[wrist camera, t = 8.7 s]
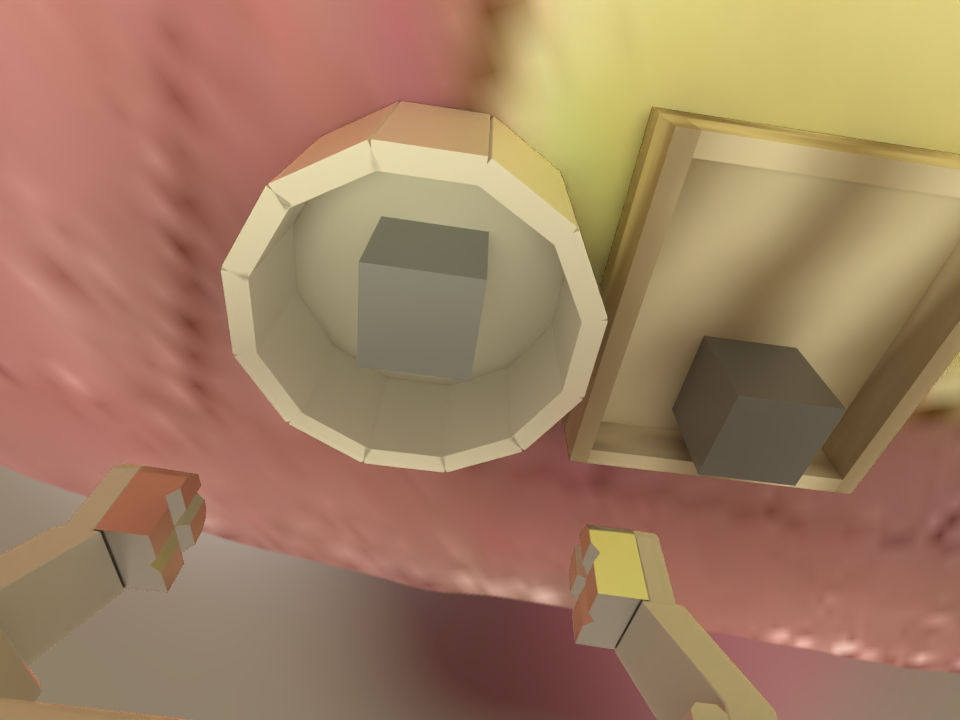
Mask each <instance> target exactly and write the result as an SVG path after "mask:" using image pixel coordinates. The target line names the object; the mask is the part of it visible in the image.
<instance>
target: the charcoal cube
mask: <svg viewBox="0 0 960 720" xmlns="http://www.w3.org/2000/svg"><path fill="white" fill-rule="evenodd" d="M672 411H673V413H674V416H675V418H676V421H677V423H678V426H679V428H680V431H681V433H682V436H683V438H684V441H685V443H686V446H687V448H688V451H689V453H690V456H691V458H692V461H693V463H694V466H695V468H696V470H697V473H698V474H699V475H707V476H716V477H724V478H733V479H741V480H750V481H758V482H767V483H775V484H784V485H792V486H796V484H797V483H798V481H799V480H800V478H801V477H802V475H803V474H804V472H805V471H806V469H807V468H808V466H809V465H810V463H811V462H812V460H813V459H814V457H815V456H816V454H817V453H818V451H819V450H820V448H821V447H822V445H823V444H824V442H825V441H826V439H827V438H828V436H829V435H830V433H831V432H832V430H833V429H834V427H835V426H836V424H837V423H838V421H839V420H840V418H841V417H842V415H843V414H844V412H845V411H846V408H845V407H844V406H843V405H842V403H841V402H840V401H839V400H838V398H837V397H836V396H835V395H834V393H833V392H832V391H831V390H830V388H829V387H828V386H827V385H826V384H825V382H824V381H823V380H822V379H821V377H820V376H819V375H818V374H817V372H816V371H815V370H814V369H813V367H812V366H811V365H810V364H809V362H808V361H807V360H806V359H805V357H804V356H803V355H802V354H801V353H800V351H799V350H798V349H797V348H794V347H786V346H779V345H771V344H764V343H756V342H748V341H741V340H733V339H726V338H718V337H711V336H704V337H703V339H702V341H701V343H700V346H699V348H698V350H697V353H696V355H695V357H694V360H693V362H692V364H691V367H690V369H689V371H688V373H687V376H686V378H685V380H684V383H683V385H682V387H681V390H680V392H679V394H678V397H677V399H676V401H675V403H674V406H673V408H672Z"/></svg>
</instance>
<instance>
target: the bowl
mask: <svg viewBox="0 0 960 720" xmlns="http://www.w3.org/2000/svg"><path fill="white" fill-rule="evenodd" d="M490 115H491V114H485V113H478V112H471V111H465V110H458V109H452V108H445V107H438V106H432V105H425V104H419V103H412V102H405V101H401V102H400V103H399V102H396V103H393V104H391V105H389V106H387V107H385V108H383V109H380V110H378V111H376V112H374V113H372V114H369V115H367V116H365V117H363V118H361V119H359V120H356V121H354V122H352V123H350V124H348V125H345V126H343V127H341V128H339V129H337V130H335V131H332V132H330V133H328V134H326V135H324V136H322V137H320V138H319V139H318V140H317V141H316V142H315V143H313V144H312V145H311V146H310V147H309V148H308V149H307V150H306V151H304V152H303V153H302V154H301V155H300V156H299V157H298V158H297V159H295V160H294V161H293V162H292V163H291V164H290V165H289V166H288V167H287V168H285V169H284V170H283V171H282V172H281V173H280V174H279V175H278V176H276V177H275V178H274V179H273V180H272V181H271V182H270V183H269V184H268V185H266V186H265V188H264V190H263V192H262V194H261V196H260V197H259V199H258V201H257V203H256V205H255V207H254V208H253V210H252V212H251V214H250V216H249V217H248V219H247V221H246V223H245V225H244V227H243V228H242V230H241V232H240V234H239V236H238V238H237V239H236V241H235V243H234V245H233V247H232V248H231V250H230V252H229V254H228V256H227V258H226V259H225V261H224V263H223V265H222V269H221V275H222V281H223V288H224V295H225V302H226V309H227V316H228V323H229V330H230V337H231V344H232V350H233V354H236V355H235V356H234V357H235V358H236V359H237V361H238V362H239V363H240V365H241V366H242V367H243V368H244V370H245V371H246V372H247V373H248V375H249V376H250V377H251V378H252V380H253V381H254V382H255V383H256V385H257V386H258V387H259V389H260V390H261V391H262V392H263V394H264V395H265V396H266V397H267V399H268V400H269V401H270V402H271V404H272V405H273V406H274V408H275V409H276V410H277V411H278V413H279V414H280V415H281V416H282V418H283V419H284V420H285V421H286V422H288V421H289V423H288V424H289V425H291V426H293V427H295V428H297V429H299V430H301V431H303V432H305V433H307V434H308V435H310V436H312V437H314V438H316V439H318V440H320V441H322V442H324V443H325V444H327V445H329V446H331V447H333V448H335V449H337V450H339V451H341V452H343V453H344V454H346V455H348V456H350V457H352V458H354V459H356V460H358V461H360V462H362V461H363V460H364V463H366V464H375V465H384V466H392V467H401V468H410V469H418V470H427V471H436V472H444V470H446V472H450V471H453V470H457V469H461V468H464V467H468V466H472V465H475V464H479V463H483V462H486V461H490V460H493V459H497V458H501V457H504V456H508V455H512V454H515V453H519V452H522V449H523V450H526V449H527V448H528V447H529V446H530V445H531V444H533V443H534V442H535V441H536V440H537V439H538V438H539V437H541V436H542V435H543V434H544V433H545V432H546V431H548V430H549V429H550V428H551V427H552V426H553V425H554V424H556V423H557V422H558V421H559V420H560V419H561V418H562V417H564V416H565V415H566V414H567V413H568V412H569V411H570V410H572V409H573V408H574V407H575V406H576V405H577V404H578V403H580V402H581V401H582V400H583V399H582V397H584V396H585V393H586V390H587V387H588V384H589V380H590V377H591V374H592V371H593V368H594V364H595V361H596V358H597V355H598V351H599V348H600V345H601V342H602V339H603V335H604V332H605V329H606V326H607V322H608V320H607V318H608V317H607V314H606V311H605V308H604V305H603V302H602V298H601V295H600V292H599V289H598V286H597V283H596V280H595V277H594V274H593V271H592V267H591V264H590V261H589V258H588V255H587V252H586V249H585V246H584V243H583V239H582V236H581V233H580V230H579V227H578V224H577V221H576V218H575V215H574V212H573V208H572V205H571V202H570V199H569V196H568V193H567V190H566V187H565V184H564V180H563V177H562V174H560V171H558V170H557V169H556V168H555V167H554V166H552V165H551V164H550V163H549V162H548V161H546V160H545V159H544V158H543V157H542V156H541V155H539V154H538V153H537V152H536V151H535V150H533V149H532V148H531V147H530V146H529V145H528V144H526V143H525V142H524V141H523V140H522V139H520V138H519V137H518V136H517V135H516V134H515V133H513V132H512V131H511V130H510V129H509V128H507V127H506V126H505V125H504V124H503V123H502V122H500V121H499V120H498V119H497V118H496V117H494V116H493V117H492V118H491V120H490ZM381 216H384V217H391V218H398V219H405V220H411V221H418V222H425V223H432V224H439V225H446V226H453V227H460V228H467V229H474V230H481V231H487V232H489V242H488V267H487V283H486V289H485V295H484V301H483V307H482V313H481V319H480V326H479V332H478V338H477V344H476V350H475V356H474V362H473V368H472V375H471V381H465V380H457V379H450V378H442V377H434V376H426V375H419V374H411V373H403V372H396V371H388V370H380V369H372V368H365V367H357V332H358V271H359V260H360V258H361V256H362V254H363V252H364V250H365V248H366V246H367V244H368V242H369V240H370V238H371V236H372V234H373V232H374V230H375V228H376V226H377V224H378V222H379V220H380V218H381Z"/></svg>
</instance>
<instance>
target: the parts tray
mask: <svg viewBox="0 0 960 720" xmlns="http://www.w3.org/2000/svg"><path fill="white" fill-rule="evenodd" d="M599 292H600V295H601V298H602V302H603V305H604V308H605V311H606V314H607V317H608V318H607V320H608V322H607V326H606V329H605V332H604V335H603V339H602V342H601V345H600V348H599V351H598V355H597V358H596V361H595V364H594V368H593V371H592V374H591V377H590V380H589V384H588V387H587V390H586V393H585V396H584V397H582V399H583V400H582V401H581V402H580V403H578V404H577V405H576V406H575V407H574V408H573V409H572V410H570V411H569V412H568V413H567V414H566V415H565V416H564V417H563V421H564V428H565V434H566V441H567V448H568V455H569V461H575V462H584V463H592V464H601V465H609V466H618V467H626V468H635V469H643V470H652V471H660V472H669V473H677V474H685V475H694V476H702V477H711V478H719V479H728V480H736V481H745V482H753V483H762V484H770V485H779V486H787V487H796V488H804V489H813V490H821V491H830V492H838V493H846V494H851V493H852V492H853V491H854V489H855V488H856V487H857V485H858V484H859V483H860V481H861V480H862V479H863V477H864V476H865V475H866V474H867V472H868V471H869V470H870V468H871V467H872V466H873V464H874V463H875V462H876V460H877V459H878V458H879V456H880V455H881V454H882V452H883V451H884V450H885V449H886V447H887V446H888V445H889V443H890V442H891V441H892V439H893V438H894V437H895V435H896V434H897V433H898V431H899V430H900V429H901V427H902V426H903V425H904V424H905V422H906V421H907V420H908V418H909V417H910V416H911V414H912V413H913V412H914V410H915V409H916V408H917V406H918V405H919V404H920V402H921V401H922V400H923V399H924V397H925V396H926V395H927V393H928V392H929V391H930V389H931V388H932V387H933V385H934V384H935V383H936V381H937V380H938V379H939V377H940V376H941V375H942V374H943V372H944V371H945V370H946V368H947V367H948V366H949V364H950V363H951V362H952V360H953V359H954V358H955V356H956V355H957V354H958V352H959V351H960V155H959V154H953V153H946V152H940V151H933V150H927V149H920V148H914V147H908V146H901V145H895V144H888V143H882V142H875V141H869V140H862V139H856V138H849V137H843V136H836V135H830V134H823V133H817V132H810V131H804V130H797V129H791V128H785V127H778V126H772V125H765V124H759V123H752V122H746V121H739V120H733V119H726V118H720V117H713V116H707V115H700V114H694V113H687V112H681V111H674V110H668V109H662V108H655V107H652V110H651V114H650V117H649V121H648V124H647V128H646V131H645V135H644V138H643V142H642V145H641V148H640V152H639V155H638V159H637V162H636V166H635V169H634V173H633V176H632V179H631V183H630V186H629V190H628V193H627V197H626V200H625V204H624V207H623V211H622V214H621V217H620V221H619V224H618V228H617V231H616V235H615V238H614V242H613V245H612V249H611V252H610V255H609V259H608V262H607V266H606V269H605V273H604V276H603V280H602V283H601V286H600V290H599ZM704 336H711V337H718V338H726V339H733V340H741V341H748V342H756V343H764V344H771V345H779V346H786V347H794V348H797V349H798V350H799V351H800V353H801V354H802V355H803V356H804V357H805V359H806V360H807V361H808V362H809V364H810V365H811V366H812V367H813V369H814V370H815V371H816V372H817V374H818V375H819V376H820V377H821V379H822V380H823V381H824V382H825V384H826V385H827V386H828V387H829V388H830V390H831V391H832V392H833V393H834V395H835V396H836V397H837V398H838V400H839V401H840V402H841V403H842V405H843V406H844V407H845V408H846V411H845V412H844V414H843V415H842V417H841V418H840V420H839V421H838V423H837V424H836V426H835V427H834V429H833V430H832V432H831V433H830V435H829V436H828V438H827V439H826V441H825V442H824V444H823V445H822V447H821V448H820V450H819V451H818V453H817V454H816V456H815V457H814V459H813V460H812V462H811V463H810V465H809V466H808V468H807V469H806V471H805V472H804V474H803V475H802V477H801V478H800V480H799V481H798V483H797V484H796V486H792V485H784V484H775V483H767V482H758V481H750V480H741V479H733V478H724V477H716V476H707V475H699V474H698V473H697V470H696V468H695V466H694V463H693V461H692V458H691V456H690V453H689V451H688V448H687V446H686V443H685V441H684V438H683V436H682V433H681V431H680V428H679V426H678V423H677V421H676V418H675V416H674V413H673V411H672V408H673V406H674V403H675V401H676V399H677V397H678V394H679V392H680V390H681V387H682V385H683V383H684V380H685V378H686V376H687V373H688V371H689V369H690V367H691V364H692V362H693V360H694V357H695V355H696V353H697V350H698V348H699V346H700V343H701V341H702V339H703V337H704Z"/></svg>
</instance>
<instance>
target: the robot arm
mask: <svg viewBox="0 0 960 720" xmlns="http://www.w3.org/2000/svg"><path fill="white" fill-rule="evenodd" d="M200 486H201V483H200V480H199V476H198V474H193V473H187V472H181V471H174V470H168V469H162V468H156V467H149V466H142V465H135V464H128V463H119V464H118V465H116V466H114V467H113V468H112V469H111V470H110V471H109V472H108V474H107V475H106V476H105V477H104V478H103V480H102V481H101V482H100V483H99V485H98V486H97V487H96V488H95V489H94V491H93V492H92V493H91V494H90V496H89V497H88V498H87V499H86V500H85V502H84V503H83V504H82V505H81V507H80V508H79V509H78V510H77V512H76V513H75V514H74V515H73V516H72V518H71V519H70V520H69V521H68V523H67V524H66V525H65V526H64V527H63V526H55V527H53V528H51V529H49V530H47V531H46V532H44V533H42V534H40V535H38V536H36V537H35V538H33V539H31V540H29V541H27V542H25V543H23V544H21V545H19V546H17V547H15V548H14V549H12V550H10V551H8V552H6V553H4V554H2V555H1V556H0V720H188V719H179V718H171V717H163V716H154V715H145V714H137V713H128V712H119V711H110V710H101V709H94V708H85V707H75V706H68V705H59V704H50V703H42V702H36V700H37V699H38V697H39V695H40V694H41V692H42V690H41V685H40V683H39V681H38V680H37V678H36V677H35V676H34V674H33V673H32V671H31V670H30V668H29V667H28V665H29V664H31V663H32V662H33V661H34V660H36V659H37V658H38V657H40V656H41V655H42V654H43V653H45V652H46V651H47V650H49V649H50V648H51V647H53V646H54V645H55V644H56V643H58V642H59V641H60V640H62V639H63V638H64V637H65V636H67V635H68V634H69V633H70V632H72V631H73V630H74V629H76V628H77V627H78V626H80V625H81V624H82V623H83V622H85V621H86V620H87V619H89V618H90V617H91V616H93V615H94V614H95V613H96V612H98V611H99V610H100V609H102V608H103V607H104V606H105V605H107V604H108V603H109V602H110V601H112V600H113V599H114V598H116V597H117V596H118V595H120V594H121V593H122V592H123V591H124V589H123V588H125V589H135V590H146V591H156V592H167V593H168V591H169V589H170V588H171V586H172V584H173V582H174V581H175V579H176V577H177V575H178V574H179V572H180V570H181V568H182V566H183V565H184V560H183V556H182V552H184V551H185V550H187V549H189V548H190V547H192V546H193V545H195V543H196V541H197V539H198V538H199V536H200V534H201V532H202V529H203V525H204V522H205V518H206V505H205V500H204V499H203V498H202V497H201V496H200V495H199V494H198V493H197V491H198V490H199V488H200ZM580 543H581V545H579V546H578V547H576V548H575V549H574V552H573V555H572V558H571V564H570V572H569V582H570V593H571V594H572V595H573V597H574V598H575V599H576V601H577V602H576V604H575V607H574V609H573V611H572V616H573V627H574V637H575V643H576V644H583V645H590V646H596V647H602V648H609V649H616V650H615V653H616V654H617V656H618V658H619V659H620V661H621V662H622V664H623V666H624V667H625V669H626V670H627V672H628V674H629V675H630V677H631V679H632V680H633V682H634V683H635V685H636V686H637V688H638V690H639V691H640V693H641V695H642V696H643V698H644V699H645V701H646V703H647V704H648V706H649V708H650V709H651V711H652V713H653V714H654V716H655V717H656V719H657V720H778V719H777V716H776V713H775V710H774V709H773V708H772V707H771V706H770V704H769V703H768V702H767V701H766V700H765V699H764V698H763V696H762V695H761V694H760V693H759V692H758V691H757V690H756V688H755V687H754V686H753V685H752V684H751V683H750V682H749V680H748V679H747V678H746V677H745V676H744V675H743V674H742V672H741V671H740V670H739V669H738V668H737V667H736V666H735V664H734V663H733V662H732V661H731V660H730V659H729V658H728V656H726V654H725V653H724V652H723V651H722V650H721V649H720V647H719V646H718V645H717V644H716V643H715V642H714V641H713V639H712V638H711V637H710V636H709V635H708V634H707V632H706V631H705V630H704V629H703V628H702V627H701V626H700V624H699V623H698V622H697V621H696V620H695V619H694V618H693V616H692V615H691V614H690V613H689V612H688V611H687V610H686V608H685V607H684V606H681V605H676V602H675V598H674V594H673V590H672V587H671V583H670V579H669V575H668V571H667V568H666V564H665V560H664V556H663V552H662V549H661V545H660V541H659V538H658V536H657V535H656V534H654V533H647V532H639V531H631V530H628V529H619V528H611V527H602V526H594V525H585V526H584V527H583V528H582V531H581V533H580Z"/></svg>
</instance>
